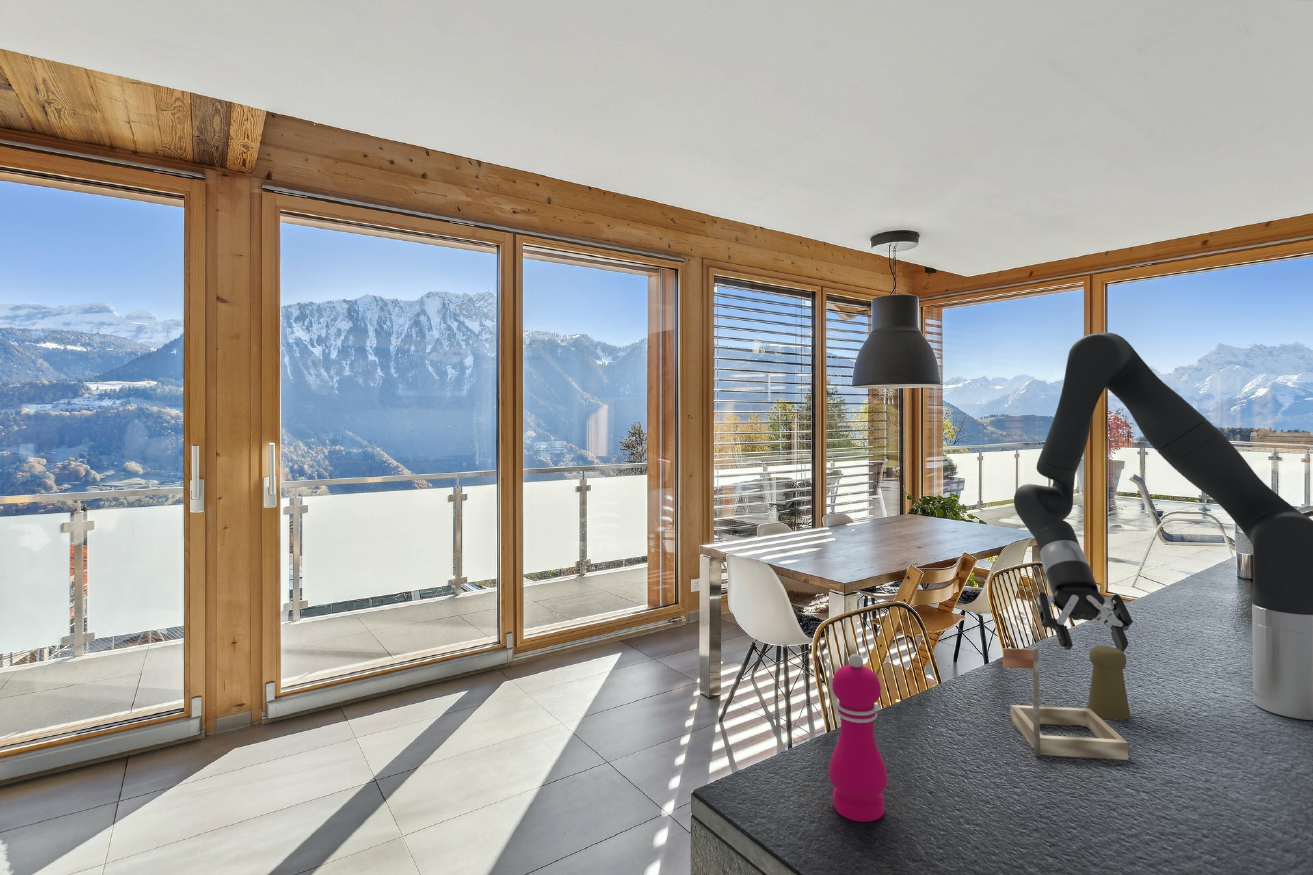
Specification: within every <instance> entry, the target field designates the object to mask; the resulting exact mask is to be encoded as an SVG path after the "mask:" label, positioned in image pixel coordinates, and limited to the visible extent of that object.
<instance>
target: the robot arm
mask: <svg viewBox="0 0 1313 875" xmlns="http://www.w3.org/2000/svg"><path fill="white" fill-rule="evenodd" d="M1105 389H1107V390H1109V392H1111V393H1112V395H1114V396H1115V397H1116V398H1117V399H1118V400H1119V401H1120V402H1121V403H1122V404H1123V405H1124V406H1125V407H1126V409H1127V411H1129V413H1130V415H1131V416H1132V418H1133V421H1135V424H1136V425H1137V427H1138V428H1139V430H1140V432H1141V433H1142V434H1143V436H1144V438H1145V439H1146V441H1147V442H1148V443H1149V445H1150V446H1151V447H1152V448H1153V449H1154V450H1155V452H1157V453H1158V454H1159V455H1160V456H1161V457H1162V458H1163V459H1164V460H1165V461H1166V462H1167V463H1168V464H1169V465H1170V466H1171V467H1172V468H1173V469H1174V470H1175V471H1176V472H1178V473H1179V474H1180V475H1181V476H1182V477H1183V478H1185V480H1187V481H1188V482H1189V483H1191V484H1192V485H1193V486H1195V487H1196V488H1198V490H1200V491H1202V492H1203V493H1204V494H1206V495H1207V496H1208V497H1210V498H1211V499H1212V500H1213V501H1215V502H1216V503H1217V504H1218V505H1219V506H1220V507H1221V508H1222V509H1223V510H1224V511H1225V512H1226V513H1227V515H1228V516H1230V518H1231V519H1232V520H1233V521H1234V523H1236V525H1237V526H1238V528H1239V529H1240V530H1241V531H1242V532H1243V534H1245V536H1246V537H1247V539H1248V540H1249V542H1250V543H1251V545H1252V549H1253V550H1252V552H1253V553H1252V554H1253V555H1252V556H1253V557H1252V558H1253V562H1252V563H1253V571H1252V572H1253V578H1252V579H1253V580H1252V581H1253V582H1252V589H1251V605H1252V606H1251V608H1252V610H1251V614H1252V616H1251V618H1252V619H1251V620H1252V621H1251V622H1252V686H1253V687H1252V688H1253V689H1252V694H1253V697H1252V700H1253V704H1254V705H1255V706H1256V707H1258V708H1260V709H1262V710H1264V711H1266V712H1269V713H1272V714H1276V715H1279V716H1283V717H1287V718H1292V719H1298V720H1306V721H1313V519H1312V518H1310V517H1309V516H1307V515H1306V514H1304V513H1303V512H1300V510H1298V509H1297V508H1295V507H1294V506H1292V505H1291V503H1289V502H1287V500H1285V499H1284V498H1282V497H1281V496H1280V495H1279V494H1278V493H1276V492H1275V491H1274V490H1273V489H1271V488H1270V486H1268V485H1267V484H1265V483H1264V481H1263V480H1261V479H1260V478H1261V477H1259V476H1258V475H1257V474H1256V472H1255V471H1254V470H1253V469H1252V467H1251V466H1250V465H1249V463H1248V462H1247V461H1246V459H1245V458H1244V457H1243V456H1242V454H1241V453H1240V452H1239V451H1238V450H1237V449H1236V448H1235V446H1234V445H1233V444H1232V443H1231V442H1230V440H1228V438H1226V436H1225V435H1224V434H1223V433H1222V432H1221V431H1220V430H1219V429H1217V427H1216V426H1214V425H1213V423H1211V421H1209V420H1208V419H1207V418H1206V417H1205V416H1204V415H1203V414H1202V413H1200V412H1199V411H1198V410H1197V409H1196V408H1194V407H1193V406H1192V405H1191V404H1190V403H1189V402H1188V401H1187V400H1186V399H1184V398H1183V397H1182V396H1181V395H1179V394H1178V393H1177V392H1176V391H1175V390H1174V389H1172V388H1171V387H1169V386H1168V385H1167V384H1166V383H1164V381H1162V380H1161V379H1160V377H1158V376H1157V375H1156V373H1155V372H1154V371H1153V370H1152V368H1150V366H1149V365H1148V364H1147V363H1146V362H1145V360H1143V359H1142V357H1141V356H1140V355H1139V353H1137V351H1136V350H1135V348H1134V347H1133V346H1132V345H1131V344H1130V343H1129V342H1128V340H1126V339H1125V338H1124V337H1123V336H1121V335H1119V334H1117V333H1113V332H1108V331H1107V332H1106V331H1103V332H1096V333H1091V334H1088V335H1086V336H1082V337H1080V338H1079V339H1078V340H1077V341H1076V342H1074V343H1073V344H1072V346H1071V347H1070V349H1069V351H1068V356H1067V362H1066V367H1065V373H1064V378H1063V385H1062V389H1061V392H1060V393H1061V394H1060V396H1059V401H1058V403H1057V404H1058V405H1057V408H1056V412H1055V414H1054V418H1053V420H1052V422H1051V425H1050V428H1049V430H1048V434H1047V436H1046V438H1045V441H1044V444H1043V447H1042V449H1041V452H1040V455H1039V457H1038V461H1037V463H1036V471H1037V472H1038V474H1039V475H1041V476H1043V477H1045V478H1047V479H1049V480H1052V485H1051V486H1047V485H1039V484H1033V483H1026V484H1023V485H1021V486H1019V487H1018V488H1017V489H1016V491H1015V493H1014V497H1013V505H1014V509H1015V512H1016V513H1017V516H1018V517H1019V519H1020V520H1021V522H1022V523H1023V524H1024V525H1025V526H1026V529H1027V530H1028V532H1029V533H1030V534H1031V535H1032V536H1033V537H1034V539H1035V542H1036V545H1037V550H1038V551H1039V554H1040V559H1041V564H1042V569H1043V573H1045V577H1046V580H1047V582H1048V586H1049V589H1050V591H1051V592H1050V593H1051V594H1052V595H1048V594H1046V592H1042V591H1041V592H1039V593H1038V596H1037V597H1036V600H1035V602H1036V607H1037V611H1038V615H1039V619H1040V622H1041V624H1040V625H1041V626H1042V627H1043V628H1045V629H1047V628H1051V629H1053V630H1054V631H1055V634H1056V637H1057V640H1058V643H1059V645H1060V646H1061V647H1063V649H1064V650H1066V651H1070V650H1071V649H1072V647H1073V641H1072V639H1071V638H1072V637H1071V636H1070V632H1069V629H1068V626H1067V625H1065V623H1066V621H1067V620H1068V618H1070V619H1072V620H1073V621H1079V620H1085V621H1095V622H1096V623H1097V624H1099V625H1100V626H1104V627H1105V628H1107V629H1108V630H1109V631H1110V632H1111V633H1110V635H1111V638H1112V640H1113V643H1114V646H1115V648H1117V649H1119V650H1121V651H1122V652H1123V653H1124V652H1125V651H1126V649H1127V648H1128V646H1129V641H1128V638H1127V635H1126V633H1125V631H1128V629H1129V628H1130V626H1132V624H1133V622H1134V621H1133V619H1132V616H1131V615H1130V613H1129V610H1128V609H1127V607H1126V605H1125V603H1124V601H1123V599H1122V596H1121V595H1119V594H1118V593H1117V594H1116V593H1115V594H1113V596H1103V595H1102V594H1101V593H1100V592H1099V589H1098V584H1097V582H1096V579H1095V577H1094V575H1093V572H1092V569H1091V567H1090V565H1089V562H1088V558H1087V557H1086V554H1085V553H1084V551H1083V549H1082V547H1081V544H1080V543H1079V540H1078V538H1077V536H1076V535H1077V534H1076V533H1075V530H1074V528H1073V527H1072V525H1071V524H1070V523H1069V522H1068V521H1067V520H1065V519H1067V518H1068V517H1069V515H1070V514H1071V512H1072V510H1073V507H1074V491H1075V489H1074V488H1075V482H1076V480H1075V479H1076V473H1077V470H1078V468H1079V466H1080V463H1081V460H1082V459H1083V455H1084V453H1085V451H1086V447H1087V444H1088V440H1089V435H1090V430H1091V424H1092V420H1093V416H1094V413H1095V409H1096V406H1097V404H1098V402H1099V399H1100V398H1101V396H1102V394H1103V392H1104V390H1105ZM1052 604H1053V605H1054V606H1055V607H1056V608H1058V609H1059V610H1060V611H1061V613H1060V614H1059V616H1058V617H1057V618H1053V616H1052V611H1051V608H1050V607H1051V605H1052ZM1104 605H1105V606H1104ZM1106 606H1107V607H1108V608H1107V607H1106ZM1100 614H1101V615H1100Z"/></svg>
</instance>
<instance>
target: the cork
mask: <svg viewBox="0 0 1313 875" xmlns="http://www.w3.org/2000/svg"><path fill="white" fill-rule="evenodd" d="M1088 656H1089V661H1090V663H1091V664H1092V665H1093V666H1092V672H1091V673H1092V674H1091V680H1090V688H1089V696H1088V702H1087V708H1088V709H1091V710H1092V711H1093V712H1094V713H1095V714H1096V715H1097V716H1100V718H1101V717H1103V718H1102V719H1105V718H1107V720H1110V719H1114V720H1113V721H1126V720H1125V719H1128V720H1129V719H1131V713H1130V712H1131V711H1130V707H1129V699H1128V695H1127V689H1126V683H1125V678H1124V671H1123V670H1125V668H1126V666H1127V657H1126V654H1125V653H1124V652H1122V651H1121V650H1119V649H1117V648H1116V647H1112V646H1107V645H1096V646H1094V647H1092V648H1091V649H1090V651H1089V655H1088ZM1115 719H1116V720H1115Z"/></svg>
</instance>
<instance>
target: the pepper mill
mask: <svg viewBox="0 0 1313 875" xmlns="http://www.w3.org/2000/svg"><path fill="white" fill-rule="evenodd" d="M863 664H864V659H863V658H862V656H861V655H860V654H857V653H853V654H851V655H850V656H849V658H848V664H846V665H843V666H841V667H839V668H838V669H837V670H836V672H835V673H834V675H833V677H832V682H831V687H832V691H833V694H834V696H835V697H836V699H837V700H838V701H836V707H837V709H836V714H837V716H839V717H840V718H839V719H840V733H839V738H838V741H837V743H836V746H835V748H834V750H833V752H832V755H831V758H830V761H829V769H828V776H829V779H830V782H831V783H832V785H833V786H834V787H835V788H834V789H833V791H832V795H833V796H832V798H833V799H832V801H833V802H832V803H833V808H834V810H835V811H836V812H837V813H838V814H839V815H840V816H842V817H844V818H846V819H848V820H851V821H854V822H860V823H861V822H862V823H865V822H868V823H869V822H874V821H877V820H878V819H880V818H882V816H884V813H885V805H884V804H885V802H884V800H885V799H884V796H883V794H882V793H884V791H885V790H886V788H887V785H888V773H887V768H886V765H885V762H884V759H883V757H882V755H881V753H880V751H879V749H878V746H877V744H876V743H877V742H876V739H875V733H874V731H875V730H874V722H875V720H876V719H877V718H878V713H877V710H878V706H877V705H876V703H877V701H878V700H879V698H880V696H881V691H882V688H881V682H880V679H879V677H878V676H877V674H876V673H875V672H874V671H873V670H872V669H870V668H869V667H866V666H864V665H863Z"/></svg>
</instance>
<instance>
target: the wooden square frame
mask: <svg viewBox="0 0 1313 875" xmlns="http://www.w3.org/2000/svg"><path fill="white" fill-rule="evenodd" d="M1039 651H1040V650H1039V647H1036V646H1035V647H1032V648H1007V647H1004V648H1003V649H1002V658H1003V659H1002V661H1003V662H1002V664H1003V666H1002V667H1003V668H1009V669H1011V668H1012V669H1027V670H1028V669H1032V705H1022V704H1021V705H1019V704H1009V705H1010V720H1011V722H1012V723H1013V725H1014V726H1015V727H1016V728H1017V730H1018V731H1019V732H1020V733H1021V734H1022V736H1023V737H1024V738H1025V740H1026V741H1027V742H1028V743H1029V744H1030V746H1031V747H1032V748H1033V756H1034V757H1036V758H1040V757H1041V756H1054V757H1055V756H1056V757H1071V758H1085V759H1086V758H1087V759H1089V758H1090V759H1103V758H1104V759H1105V758H1106V759H1107V760H1124V761H1129V742H1128V741H1127V740H1126V739H1125V738H1124V737H1122V736H1121V735H1120V734H1119V733H1118V732H1116V731H1115V730H1114V729H1113V728H1112V727H1111V726H1110V725H1109V724H1107V722H1105V721H1104V720H1103V718H1101V717H1099V716H1097V715H1096V714H1095V713H1094V712H1093V711H1092V710H1091V709H1088V707H1086V708H1084V707H1061V706H1045V705H1044V706H1043V705H1041V706H1040V663H1039V662H1040V661H1039V660H1040V659H1039V658H1040V656H1039V655H1040V654H1039V653H1040V652H1039ZM1040 725H1052V726H1053V725H1057V726H1072V725H1077V726H1078V725H1081V726H1080V727H1086V728H1087V727H1088V728H1087V729H1088V730H1089V729H1090V731H1091V733H1092V734H1094V736H1095V737H1083V736H1082V737H1081V736H1080V737H1077V736H1066V735H1062V736H1060V735H1044V734H1043V733H1042V732H1041V729H1040V727H1041V726H1040ZM1077 726H1076V727H1077ZM1106 759H1105V760H1106Z"/></svg>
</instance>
